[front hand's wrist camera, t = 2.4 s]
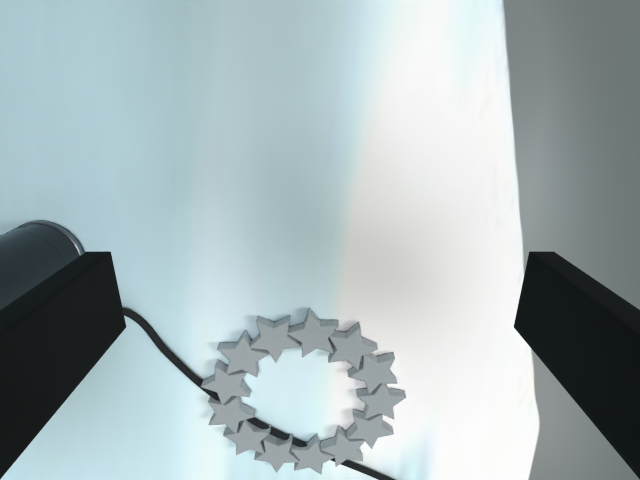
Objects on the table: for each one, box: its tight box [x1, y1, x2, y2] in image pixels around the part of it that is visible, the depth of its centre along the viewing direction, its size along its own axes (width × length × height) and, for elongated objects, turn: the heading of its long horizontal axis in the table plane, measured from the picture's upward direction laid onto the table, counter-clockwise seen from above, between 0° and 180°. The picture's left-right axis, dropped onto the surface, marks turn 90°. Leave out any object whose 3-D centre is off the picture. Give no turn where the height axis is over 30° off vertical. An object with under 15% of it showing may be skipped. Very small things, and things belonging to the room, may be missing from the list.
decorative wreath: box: [201, 308, 406, 474], centre depth 58 cm, size 30×2×30 cm
